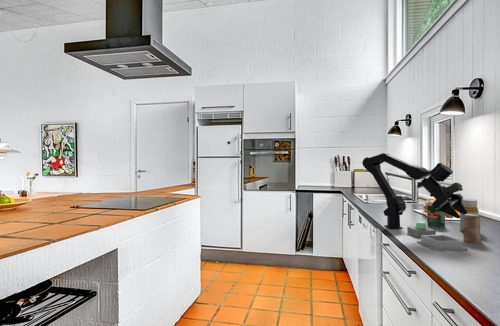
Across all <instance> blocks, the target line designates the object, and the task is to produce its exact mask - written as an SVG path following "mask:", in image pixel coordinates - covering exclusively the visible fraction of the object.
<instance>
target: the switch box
mask: <svg viewBox="0 0 500 326" xmlns="http://www.w3.org/2000/svg"><path fill="white" fill-rule="evenodd" d="M406 229H407V230H406V231H407V232H406V233H407V234H409V235H411V236H413V237H416V238H417V239H419V238H420V239H421V235H437V234H436V232H437V231H436V230H435V229H433V228H431V227H427V226H426V230H419V229H416V226H407V228H406Z"/></svg>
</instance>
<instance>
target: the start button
mask: <svg viewBox="0 0 500 326" xmlns="http://www.w3.org/2000/svg"><path fill="white" fill-rule="evenodd" d="M415 227H416V229H419V230H426V227H427V222H424V221H416V222H415Z"/></svg>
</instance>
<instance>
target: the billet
mask: <svg viewBox="0 0 500 326" xmlns="http://www.w3.org/2000/svg"><path fill="white" fill-rule="evenodd" d="M463 229H464V232H463V242H466V243H471V244H479V243H481V240H482V238H481V214H478V215H476V214H464V215H463Z"/></svg>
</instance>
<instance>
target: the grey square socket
mask: <svg viewBox="0 0 500 326" xmlns="http://www.w3.org/2000/svg"><path fill="white" fill-rule="evenodd" d="M417 242H418V244H420V245H423V246H425V247H426V248H429V249H432V250H434V251H436V252H441V251H442V252H444V251H468V248H467V247H465V246H463V245H464V244H463V242H464V240H461V239H457V238H455V237H452V236H449V235H447V234H436V235H421V238H420V240H416V243H417Z"/></svg>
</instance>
